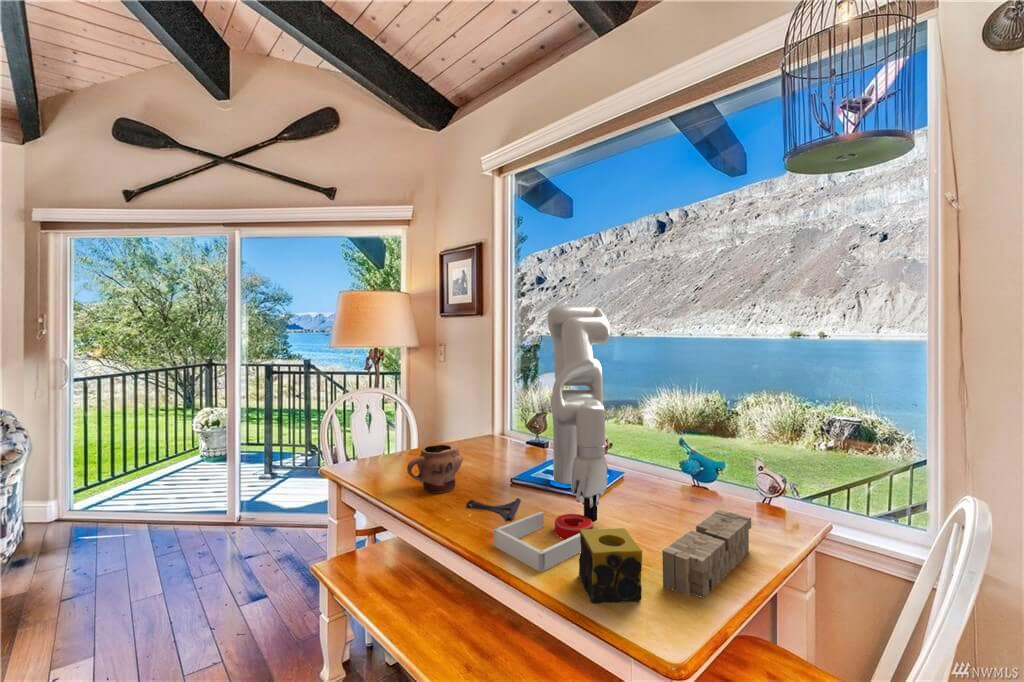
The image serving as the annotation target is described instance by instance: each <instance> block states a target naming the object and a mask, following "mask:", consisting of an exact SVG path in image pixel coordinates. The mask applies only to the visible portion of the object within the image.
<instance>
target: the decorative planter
mask: <svg viewBox="0 0 1024 682" xmlns="http://www.w3.org/2000/svg"><path fill="white" fill-rule="evenodd" d="M463 459H464V458H463V456H462V454H460V450H459V448H458V447H457V446H456V445H452V444H436V445H430V446H426V447H423V448H422V449H421V451H420V454H419V456H418V457H414V458H413V459H411V460H410V461H409V462H408V464H407V468H406V471H407V474H408V475H409V476H410V478H412V479H413V480H414V481H417V482H419V483H421V484H423V485H422V486H423V488H424V490H425V491H426V492H428V493H431V494H441V493H447V492H449V491H452V490H454V489H455V488H456V474H457V472H458V471H459V470H460V467H461V466H462V463H463ZM416 465H417V469H418V472H419V473H418V475H415V474H414V473H413V471H412V470H413V468H414V466H416Z"/></svg>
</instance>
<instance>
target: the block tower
mask: <svg viewBox="0 0 1024 682" xmlns="http://www.w3.org/2000/svg"><path fill="white" fill-rule="evenodd" d="M750 529H752V517H750V516H748V515H743V514H740V513H735V512H732V511H727V510H723V509H717V510H715V511H714V512H713V513H712V514H711V515H710V516H708V517H707V518H705V519H704V520H703V521H701V522H700V523H697V524H696V526H695V530H693V529H690V530H689V532H686V533H685V534H684V535H683V536H682V537H680V538H678V539H676V540H675V541H674V542H672V543H671V544H670V545H669V546H667V547H665V548H663V549H662V551H661V552H662V556H661V557H662V586H663V587H664V586H666V587H668V588H667V589H669V588H670V589H669V590H671V589H673V590H672V591H674V590H676V591H677V592H676V591H675V592H676V593H678V592H680V593H682V594H681V595H683V594H685V595H689V594H690V593H693V594H695V595H694V596H696V595H698V596H701V597H703V598H704V597H705V596H706V597H707V595H708V594H710V588H713V587H714V586H715V587H717V586H718V585H719V583H720V582H721V581H720V580H722V579H723V580H724V578H725V577H726V576H725V575H727V574H728V573H729V572H730V571H731V572H732V570H733V569H734V568H736V566H737V565H738V564H739V563H740V562H741V561H742V560H743V559H744V558H745V557H746V555H747V554H748V553H749V552H750V551H749V548H750V546H749V545H750V543H749V542H750V541H749V539H750V537H749V536H750V535H749V532H750ZM744 556H745V557H744ZM743 557H744V558H743ZM742 558H743V559H742ZM741 559H742V560H741ZM739 561H740V562H739ZM737 563H738V564H737ZM733 567H734V568H733ZM732 568H733V569H732ZM731 569H732V570H731ZM731 572H730V573H731ZM730 573H729V574H730ZM729 574H728V575H729ZM728 575H727V576H728ZM723 580H722V581H723ZM719 581H720V582H719ZM718 582H719V583H718ZM717 584H718V585H717ZM716 585H717V586H716ZM666 587H665V588H666ZM715 587H714V588H715ZM714 588H713V589H714ZM680 593H679V594H680ZM707 593H708V594H707ZM693 594H692V595H693ZM706 594H707V595H706ZM685 595H684V596H685ZM690 595H691V594H690ZM690 595H689V596H690ZM698 596H697V597H698ZM701 597H700V598H701ZM706 597H705V598H706ZM703 598H702V599H703ZM705 598H704V599H705Z"/></svg>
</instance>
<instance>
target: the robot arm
mask: <svg viewBox="0 0 1024 682" xmlns="http://www.w3.org/2000/svg"><path fill="white" fill-rule="evenodd" d="M547 326H548V330H549V333H550V336H551V339H552V342H553V347H554V349H553V350H554V355H553V357H554V377H555V381H554V383H553V386H552V392H551V393H552V395H551V396H550V407H551V415H552V426H553V429H552V431H553V433H552V434H553V441H552V442H553V452H552V453H553V454H552V455H553V476H554V480H555V481H556V482H559V483H563V484H571V483H572V485H571V489H570V490H571V493H572V494H573V495H575V502H577V503H580V504H581V503H582V505H583V516H586V517H588V518H589V519H591V520H592V522H593V523H594V522H597V521H598V505H599V504H600V498H601V497H602V495H604V493H605V491H606V490H607V487H608V468H607V467H608V466H607V460H606V411H605V410H606V409H605V407H604V390H603V388H604V387H603V381H604V380H603V379H604V378H603V368H602V365H601V363H600V360H598V359H597V358H594V354H593V345H605V344H607V343H608V342H609V340H610V338H611V337H610V336H611V328H610V323H609V321H608V318H607V317H606V315H605V314H604V312H603V311H602V309H601V308H600V307H599V306H595V305H558V306H553V307H552V308H550V309H549V310H548V313H547ZM565 386H567V387H573V386H574V387H576V386H577V387H579V386H581V387H582V386H583V387H585V386H586V387H587V389H564V387H565Z"/></svg>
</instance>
